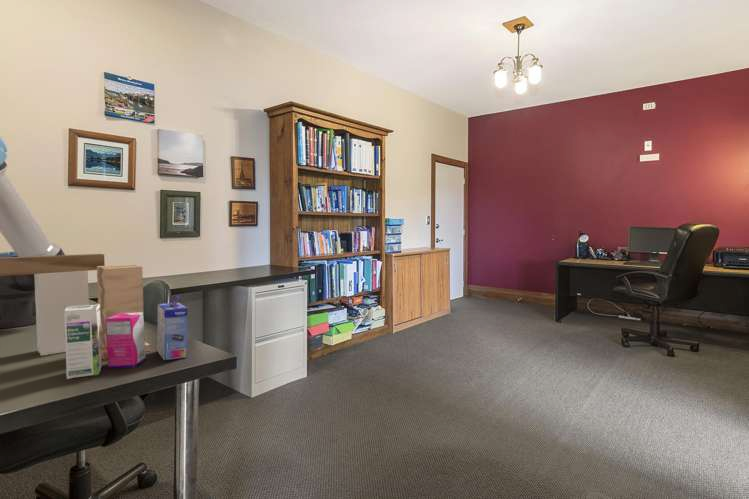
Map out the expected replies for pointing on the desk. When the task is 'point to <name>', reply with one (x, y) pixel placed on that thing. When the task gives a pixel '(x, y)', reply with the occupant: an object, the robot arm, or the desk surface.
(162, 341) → the ink cartridge box
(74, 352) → the syrup box
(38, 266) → the rail
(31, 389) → the desk surface
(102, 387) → the desk surface
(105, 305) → the stand
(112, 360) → the supplement box
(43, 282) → the pedestal
